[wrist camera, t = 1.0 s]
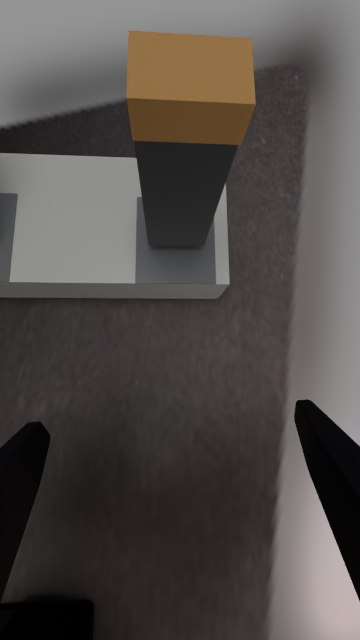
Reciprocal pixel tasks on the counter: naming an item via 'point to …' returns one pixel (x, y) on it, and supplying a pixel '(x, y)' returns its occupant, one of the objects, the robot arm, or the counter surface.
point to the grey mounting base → (95, 235)
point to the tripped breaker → (186, 126)
